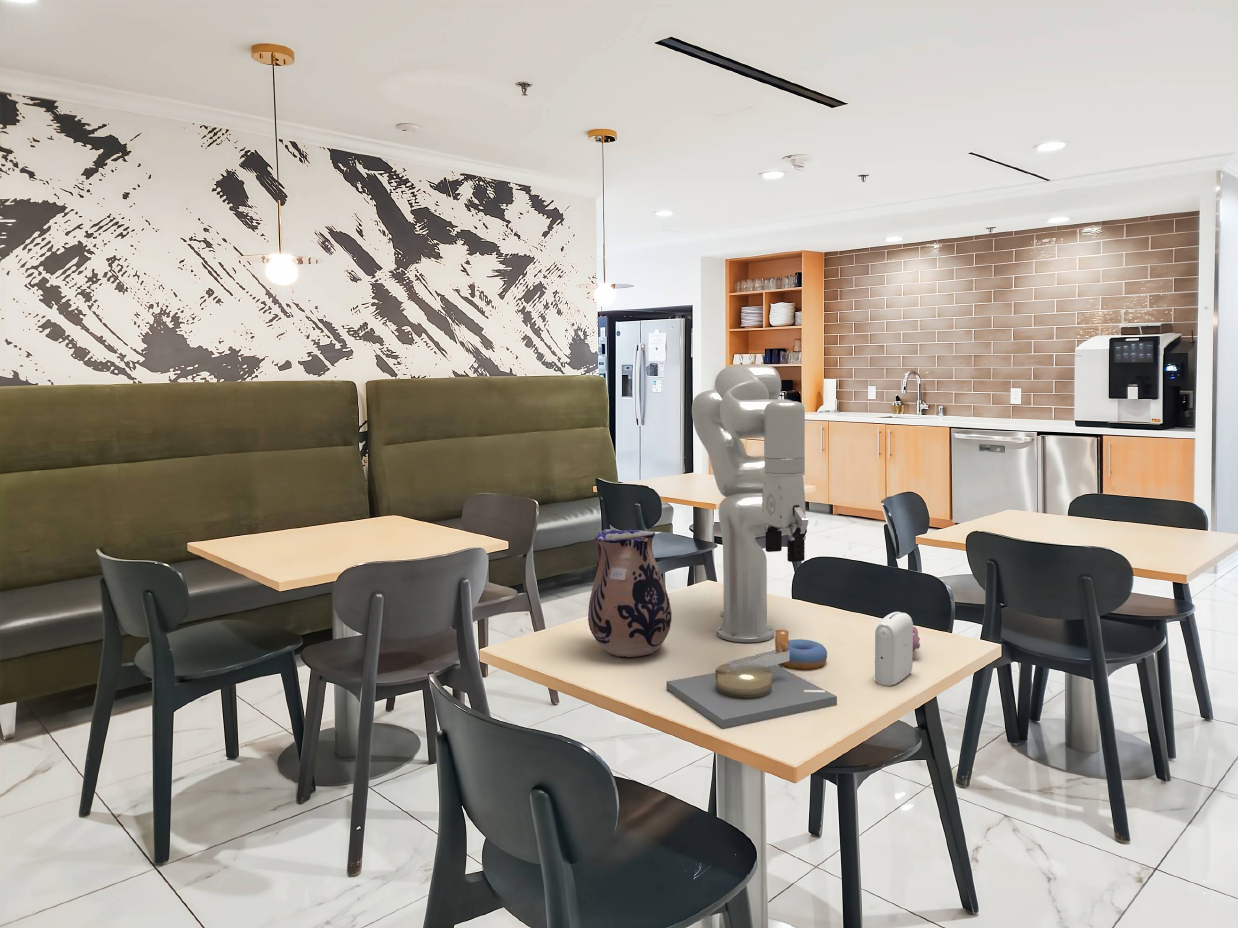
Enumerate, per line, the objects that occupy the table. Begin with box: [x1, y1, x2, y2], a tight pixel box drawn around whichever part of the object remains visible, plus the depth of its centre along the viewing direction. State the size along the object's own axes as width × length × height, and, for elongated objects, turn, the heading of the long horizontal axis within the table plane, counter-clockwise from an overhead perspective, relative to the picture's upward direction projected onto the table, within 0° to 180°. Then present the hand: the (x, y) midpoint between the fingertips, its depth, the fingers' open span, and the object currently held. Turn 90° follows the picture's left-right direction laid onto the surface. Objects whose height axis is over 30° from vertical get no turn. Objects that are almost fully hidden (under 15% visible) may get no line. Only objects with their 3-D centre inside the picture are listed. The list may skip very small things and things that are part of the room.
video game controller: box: [913, 625, 921, 652], centre depth 176 cm, size 10×5×7 cm, turn 169°
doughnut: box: [780, 638, 828, 670], centre depth 172 cm, size 10×10×5 cm
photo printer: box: [874, 611, 914, 687], centre depth 161 cm, size 10×4×12 cm, turn 140°
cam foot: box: [714, 629, 790, 698], centre depth 154 cm, size 16×10×8 cm, turn 124°
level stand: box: [666, 664, 838, 729], centre depth 154 cm, size 20×23×2 cm
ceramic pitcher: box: [587, 528, 673, 658], centre depth 181 cm, size 18×21×25 cm
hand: (784, 556), depth 163 cm, fingers open, 9 cm apart
